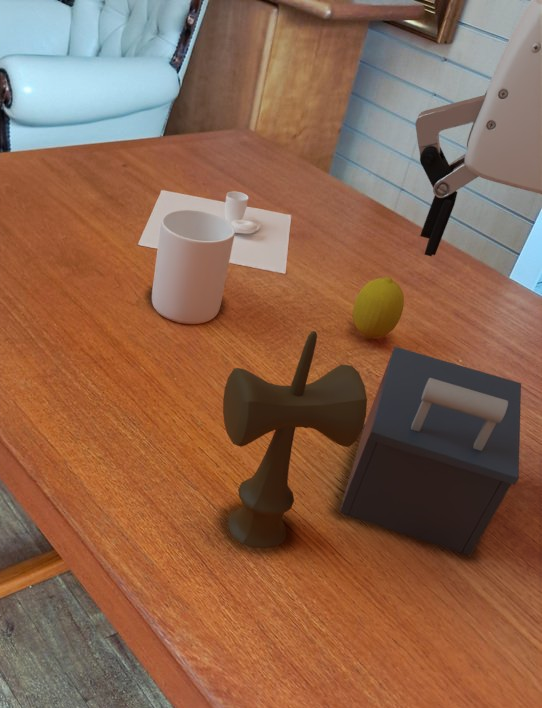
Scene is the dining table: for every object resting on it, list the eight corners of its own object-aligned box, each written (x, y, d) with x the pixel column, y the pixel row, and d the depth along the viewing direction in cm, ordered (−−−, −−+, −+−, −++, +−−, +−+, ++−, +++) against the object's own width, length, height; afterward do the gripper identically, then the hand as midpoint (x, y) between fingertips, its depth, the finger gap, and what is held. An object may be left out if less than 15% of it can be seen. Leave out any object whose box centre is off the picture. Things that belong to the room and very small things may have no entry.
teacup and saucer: (257, 242, 110) (263, 214, 108) (201, 232, 111) (206, 203, 108) (261, 218, 117) (267, 190, 114) (209, 208, 117) (213, 180, 114)
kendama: (318, 558, 66) (395, 355, 53) (208, 564, 64) (259, 355, 51) (296, 508, 71) (362, 309, 57) (192, 513, 68) (235, 307, 55)
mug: (161, 272, 100) (171, 191, 93) (225, 284, 100) (240, 204, 93) (145, 318, 91) (155, 233, 84) (215, 331, 91) (231, 247, 84)
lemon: (335, 334, 94) (355, 273, 89) (362, 322, 98) (382, 261, 92) (373, 356, 92) (395, 294, 86) (399, 342, 95) (422, 281, 90)
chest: (466, 563, 68) (514, 479, 62) (336, 520, 70) (369, 433, 63) (474, 472, 78) (517, 390, 71) (360, 436, 80) (391, 353, 73)
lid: (514, 485, 61) (546, 430, 57) (367, 439, 63) (389, 383, 59) (517, 390, 71) (544, 338, 68) (391, 353, 73) (411, 301, 70)
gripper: (771, 10, 46) (618, 280, 57) (474, -52, 49) (386, 217, 60) (802, 33, 40) (626, 326, 52) (466, -38, 43) (370, 254, 55)
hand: (497, 267), depth 56 cm, fingers open, 9 cm apart
